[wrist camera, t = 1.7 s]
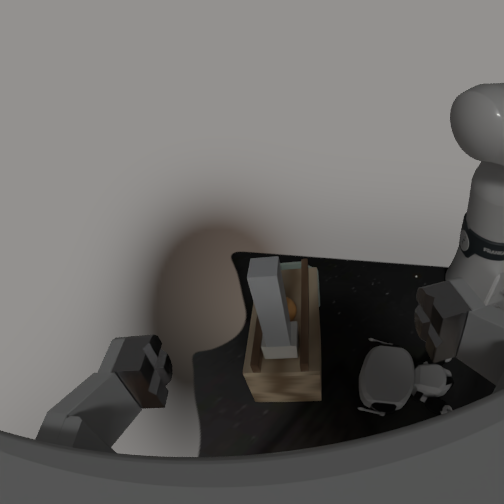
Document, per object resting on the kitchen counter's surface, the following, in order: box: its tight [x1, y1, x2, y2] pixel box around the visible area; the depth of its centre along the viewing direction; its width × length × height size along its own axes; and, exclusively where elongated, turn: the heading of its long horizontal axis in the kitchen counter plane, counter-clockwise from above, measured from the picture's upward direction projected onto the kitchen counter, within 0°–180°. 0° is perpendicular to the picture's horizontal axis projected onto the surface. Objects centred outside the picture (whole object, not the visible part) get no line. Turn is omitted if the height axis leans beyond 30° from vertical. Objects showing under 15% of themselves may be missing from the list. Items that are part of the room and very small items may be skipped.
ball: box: [286, 297, 297, 322], centre depth 45 cm, size 4×4×4 cm
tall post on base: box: [247, 256, 299, 359], centre depth 38 cm, size 4×4×15 cm
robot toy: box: [358, 338, 454, 416], centre depth 41 cm, size 12×4×15 cm
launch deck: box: [243, 259, 321, 402], centre depth 49 cm, size 10×20×11 cm, turn 173°
